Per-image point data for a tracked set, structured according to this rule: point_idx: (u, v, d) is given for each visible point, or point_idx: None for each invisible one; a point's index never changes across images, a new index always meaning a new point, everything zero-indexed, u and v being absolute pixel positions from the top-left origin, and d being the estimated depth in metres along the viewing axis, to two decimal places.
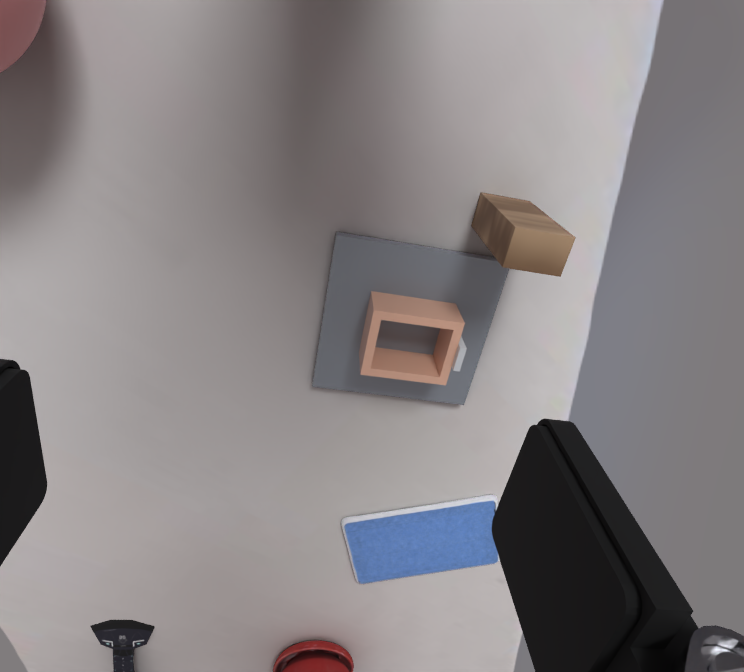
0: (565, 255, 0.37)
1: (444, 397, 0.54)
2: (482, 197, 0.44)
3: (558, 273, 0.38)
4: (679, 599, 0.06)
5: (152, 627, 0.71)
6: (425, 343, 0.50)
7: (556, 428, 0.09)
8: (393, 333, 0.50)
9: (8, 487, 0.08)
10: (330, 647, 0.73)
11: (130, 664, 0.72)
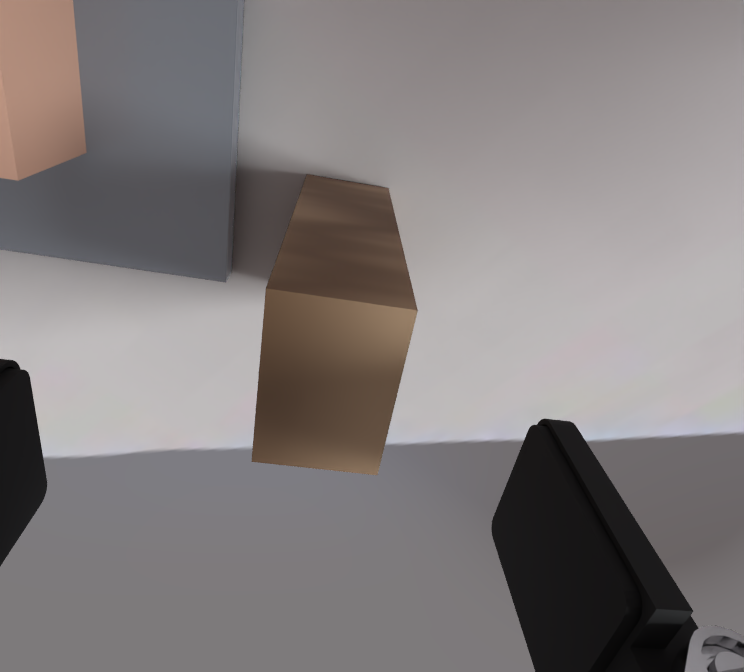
0: (321, 461, 0.12)
1: None
2: (383, 193, 0.18)
3: (261, 454, 0.12)
4: (679, 599, 0.06)
5: None
6: None
7: (556, 428, 0.09)
8: None
9: (8, 487, 0.08)
10: None
11: None
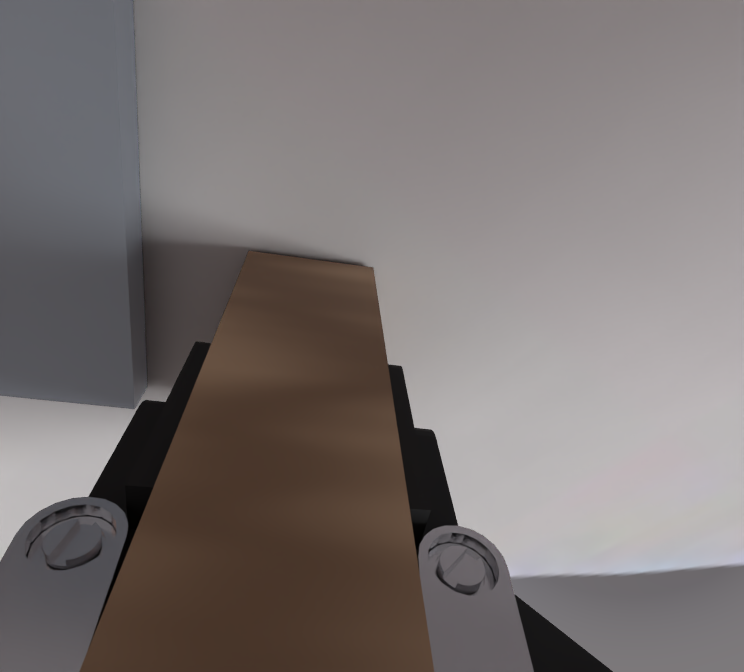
0: None
1: None
2: (365, 281, 0.12)
3: None
4: (422, 501, 0.07)
5: None
6: None
7: None
8: None
9: None
10: None
11: None
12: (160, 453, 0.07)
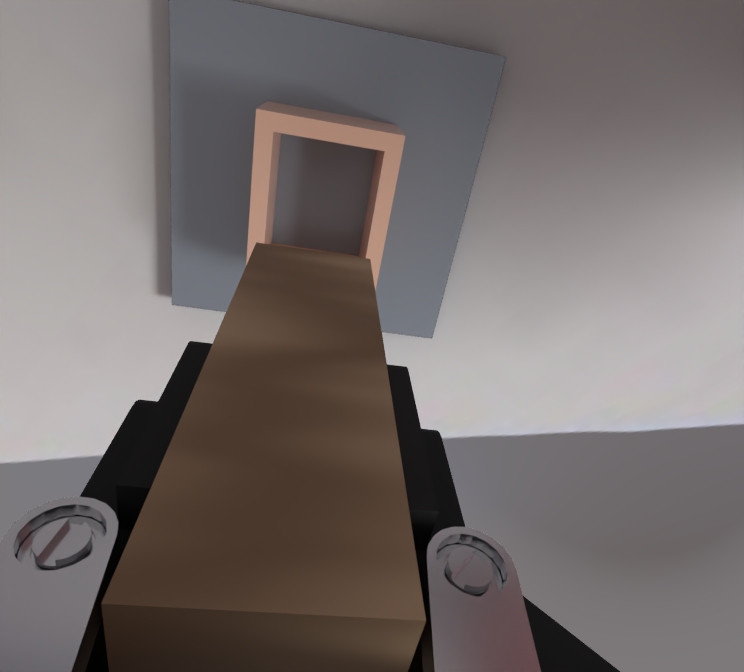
0: None
1: (183, 270, 0.30)
2: (363, 269, 0.13)
3: None
4: (430, 502, 0.07)
5: None
6: (294, 227, 0.29)
7: None
8: (311, 169, 0.27)
9: None
10: None
11: None
12: (152, 453, 0.07)
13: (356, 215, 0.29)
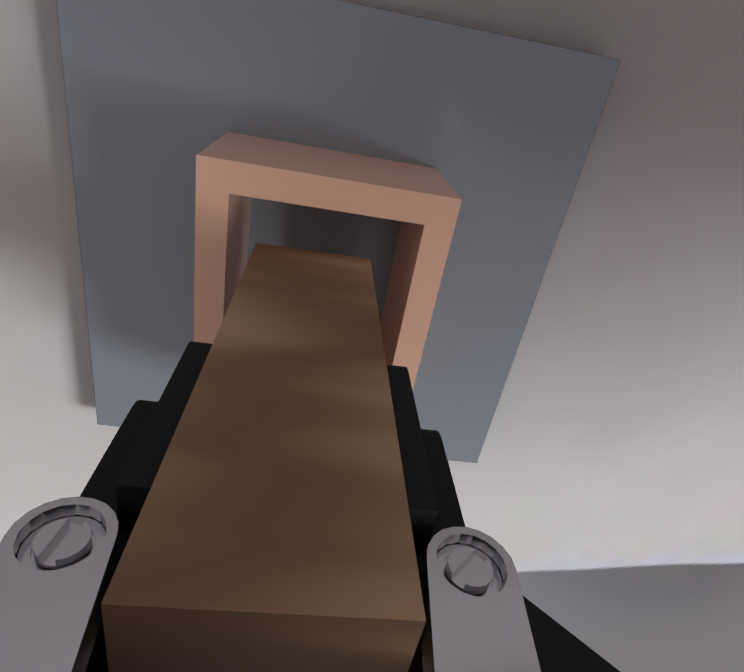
0: None
1: (110, 379, 0.20)
2: (363, 269, 0.13)
3: None
4: (430, 502, 0.07)
5: None
6: None
7: None
8: (301, 236, 0.18)
9: None
10: None
11: None
12: (151, 453, 0.07)
13: None
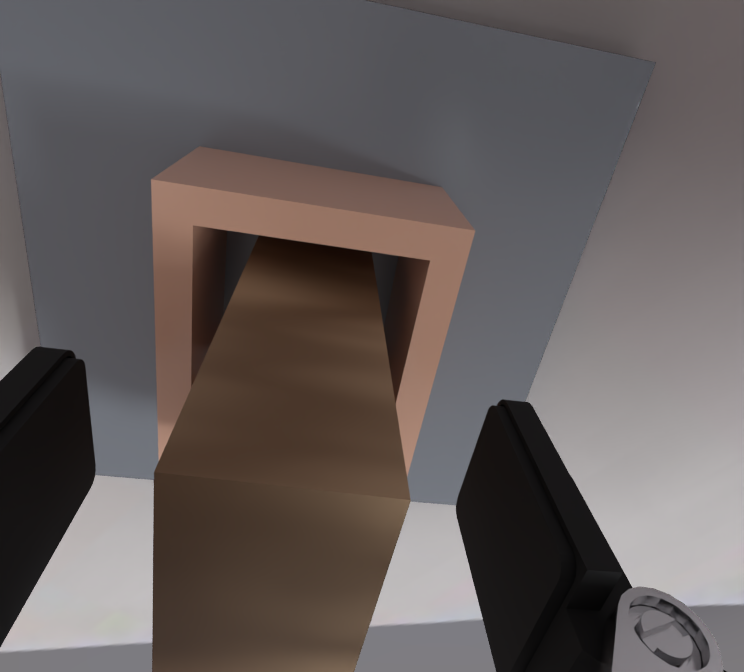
0: None
1: None
2: None
3: None
4: (611, 562, 0.07)
5: None
6: None
7: (512, 407, 0.10)
8: None
9: (66, 469, 0.09)
10: None
11: None
12: None
13: None
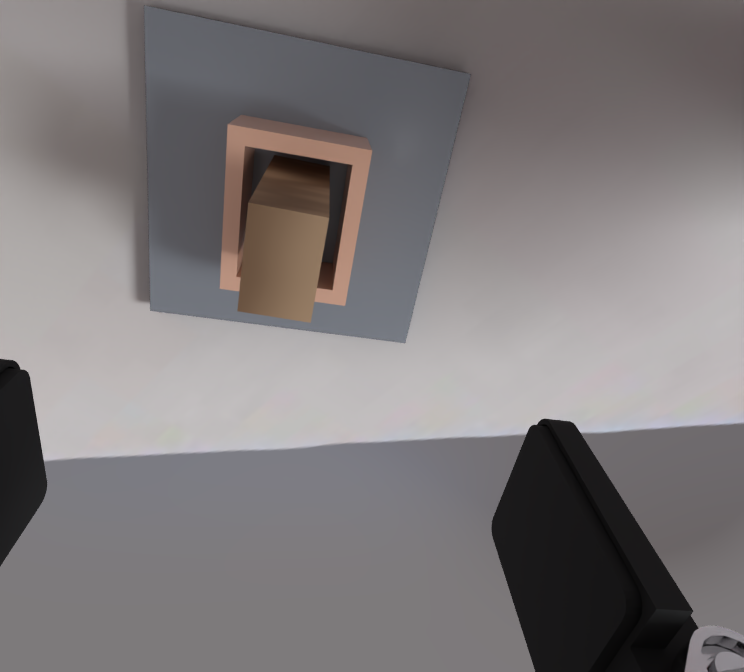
0: (277, 312, 0.21)
1: (160, 277, 0.31)
2: (325, 168, 0.27)
3: (242, 306, 0.21)
4: (679, 599, 0.06)
5: None
6: None
7: (556, 428, 0.09)
8: None
9: (8, 487, 0.08)
10: None
11: None
12: None
13: (329, 224, 0.30)
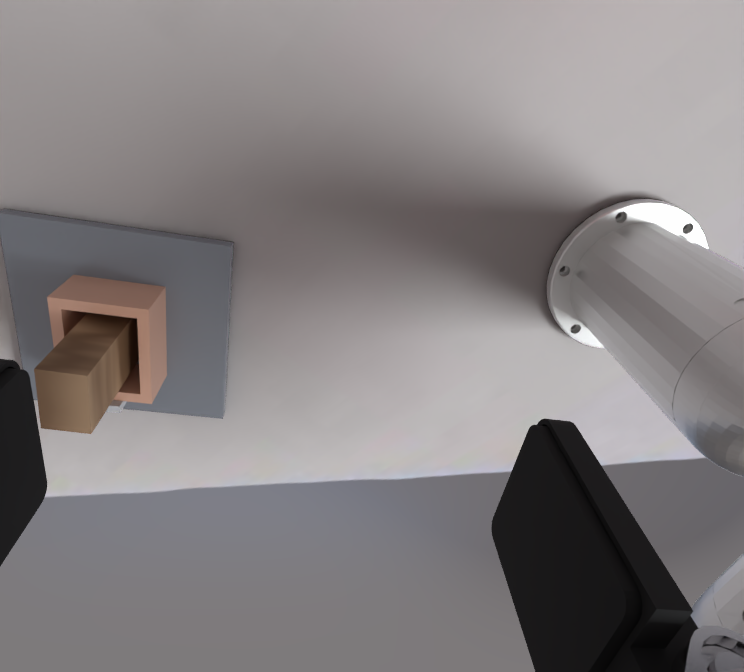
0: (67, 428, 0.33)
1: (32, 377, 0.42)
2: None
3: (44, 425, 0.33)
4: (679, 599, 0.06)
5: None
6: None
7: (556, 428, 0.09)
8: None
9: (8, 487, 0.08)
10: None
11: None
12: None
13: None
